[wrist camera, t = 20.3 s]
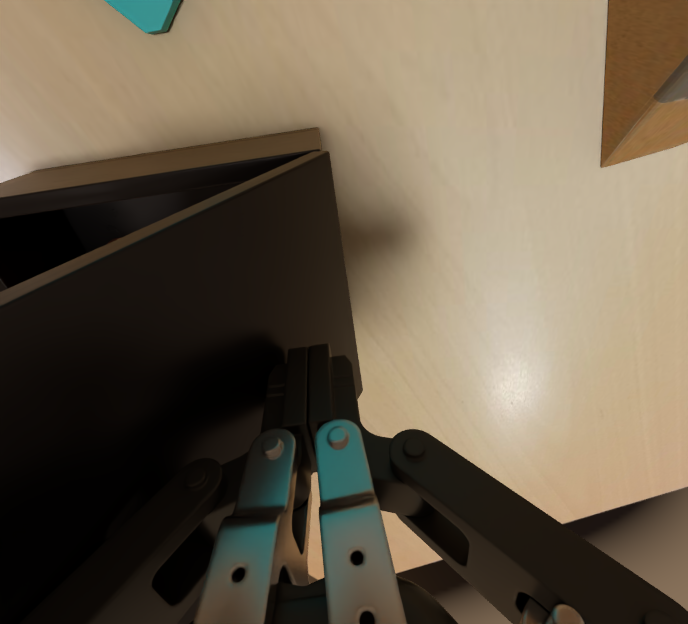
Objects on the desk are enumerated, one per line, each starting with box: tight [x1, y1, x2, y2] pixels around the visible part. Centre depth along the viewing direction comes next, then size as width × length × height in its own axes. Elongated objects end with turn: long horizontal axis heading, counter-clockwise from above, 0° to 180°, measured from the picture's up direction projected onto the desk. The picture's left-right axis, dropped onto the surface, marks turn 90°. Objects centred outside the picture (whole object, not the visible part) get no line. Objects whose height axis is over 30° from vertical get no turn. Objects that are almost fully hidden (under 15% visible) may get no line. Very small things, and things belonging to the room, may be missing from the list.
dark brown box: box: [0, 128, 322, 292], centre depth 21 cm, size 16×13×7 cm
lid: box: [0, 151, 363, 624], centre depth 12 cm, size 16×13×1 cm
